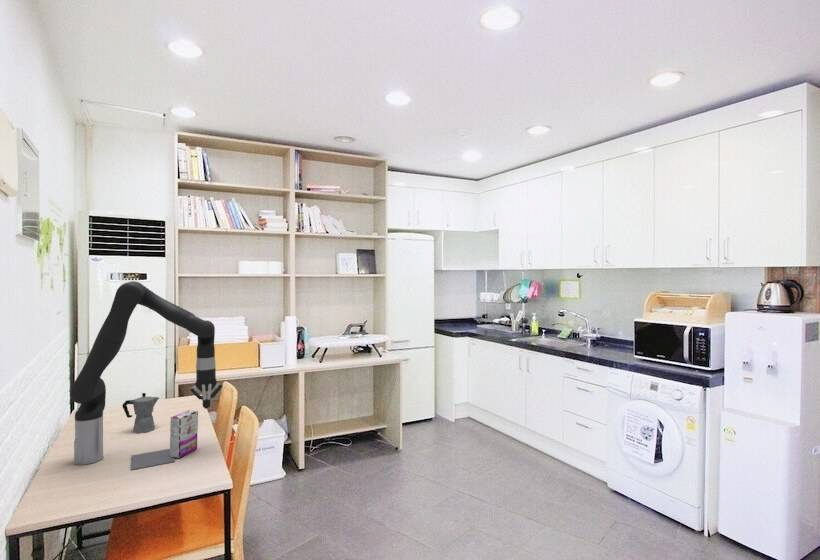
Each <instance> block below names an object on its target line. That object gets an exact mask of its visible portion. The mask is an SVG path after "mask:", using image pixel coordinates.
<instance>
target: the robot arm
mask: <svg viewBox="0 0 820 560" xmlns="http://www.w3.org/2000/svg"><path fill="white" fill-rule="evenodd" d="M138 305H141V306H142V307H144V308H148V309H150V310H152V311H153V312H154V313H157V314H158V315H160V316H161V317H162V318H164V319H165V320H167V321H169V322H170V323H172V324H174V325H176V326H178V327H180V328H183V329H186V331H188V332H190V333H192V335H195V336H197V346H196V363H195V369H196V370H195V375H196V376H195V377H196V380H195V382H194V383H195V384H194V385H193V386H191V387H189V388H190V389H189V390H190V392H191V393H192V394H193V395H194V396H195V397H196V398H197V399H198V400H201V401H202V407H203V409H205V410H207V409H209V408H210V407H211V399H213V398H215V397H216V396H217V395H218V393H219V392H220V390H221V389H222V387H223V385H222V384H221V383H219V382H218V380H217V377H216V369H217V368H216V365H217V364H216V351H215V333H216V328H215V325H214V323H213V322H212V321H210V320H204V319H202V318H200V317H198V316H196V315H195V314H194V313H193V312H190V311H189V310H188V309H185V308H182V307H181V306H178V305H176V304H175V303H173V302H171V301H168V300H166V299H164V298H163V297H161V296H159V295H158V294H156V293H155V292H154V291H153V290H150V289H149V288H148V287H147V286H145V285H144V284H142V283H140V282H139V281H133V280H132V281H127V282H124V283H123V284H121V285H119V287H118V288H117V290H116V292H115V294H114V298H113V300H112V304H111V307H110V310H109V313H108V315H107V316H106V318H105V320H104V322H103V324H102V326H101V328H100V330H99V331H98V333H97V336H96V338H95V340H94V341H93V344H92V347H91V349H90V350H89V353H88V356H87V358H86V360H85V363H84V365H83V367H82V369H81V370H80V372H79V374H78V375H77V377H76V378H75V381H73V383H72V386H71V388H70V391H69V392H70V395H69V396H70V398H71V400H72V401H73V403H76V404H79V407H78V408H77V410H76V411H75V413H74V440H73V449H74V451H73V453H74V455H73V463H74V466H77V465H81V466H83V465H90V464H94V463H97V462H99V461H101V460H103V459H104V410H105V408H106V398H107V397H106V394H107V392H106V391H107V387H106V383H105V381H104V380H103V379H102V378H101V377H102V374H103V372H104V371H105V370H106V368H107V367H108V366H109V365H110V364H111V363H112V362H113V360H114V359H115V357H116V356H117V355H118V353H119V352H120V350H121V347H122V345H123V343H124V341H125V339H126V335H127V332H128V325H129V320H130V319H131V316H132V313H134V310H135V308H136V307H137V306H138ZM214 388H215V389H214ZM197 390H199V391H200V392H201V394H199V392H198V391H197Z"/></svg>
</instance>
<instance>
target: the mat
mask: <svg viewBox="0 0 820 560" xmlns="http://www.w3.org/2000/svg"><path fill="white" fill-rule="evenodd" d="M130 460H131V461H130V471H135V470H140V469H146V468H151V467H156V466H161V465H168V464H171V463H176V459H175V458H174V457H170V448H166V449H160V450H155V451H148V452H142V453H137V454H131V457H130Z"/></svg>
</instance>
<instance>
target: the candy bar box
mask: <svg viewBox="0 0 820 560" xmlns="http://www.w3.org/2000/svg"><path fill="white" fill-rule="evenodd" d="M198 420H199V410H191V409H188V410H186V411H183V412H180V413H178V414H174V415H173V416H171V417H170V424H169V425H170V430H169V431H170V433H169V434H170V435H169V449H170V457H174V458H177V459H181V458H182V457H184V456H186V455H188V454H190V453H192V452H194V451H196V450H197V449H198V430H199V429H198V428H199V425H198V422H199V421H198Z"/></svg>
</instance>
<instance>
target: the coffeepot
mask: <svg viewBox="0 0 820 560" xmlns="http://www.w3.org/2000/svg"><path fill="white" fill-rule="evenodd" d="M146 395H147V394H146V392H142V393H141V397H138V398H134V399H129V400H125V401H124V402H123V403H122V410H124V414H125V416H126V417H127V418H132V417H133V415H132V414H131V415H130V411H129V409H128V406H127V405H133V411H134V415H135V419H134V424H133V428H132V429H133V430H132V433H134V434H146V433H149V432H152V431H154V430H155V429H156V425H155V420H154V415H153V412H154V407H155V405H156V403H157V402H158V400H160V397H157V396H146Z"/></svg>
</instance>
